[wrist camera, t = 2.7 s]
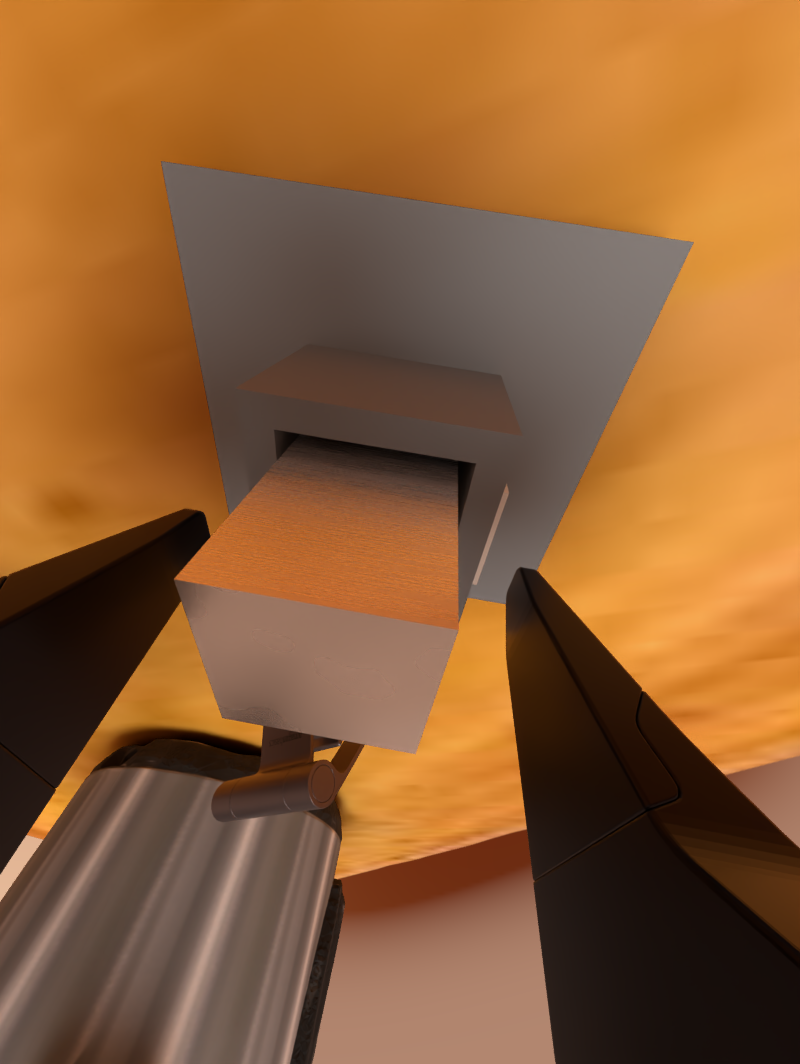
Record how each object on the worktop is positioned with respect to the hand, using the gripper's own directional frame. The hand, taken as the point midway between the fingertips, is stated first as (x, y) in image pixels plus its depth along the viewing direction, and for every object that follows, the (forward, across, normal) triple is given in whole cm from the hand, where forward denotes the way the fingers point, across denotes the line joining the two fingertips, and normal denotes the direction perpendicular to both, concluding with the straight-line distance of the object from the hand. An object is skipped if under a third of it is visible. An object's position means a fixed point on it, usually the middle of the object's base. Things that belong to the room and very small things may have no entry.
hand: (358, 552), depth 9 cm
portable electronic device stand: (+8, +3, +21) cm, 23 cm away
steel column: (+6, 0, 0) cm, 6 cm away
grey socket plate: (+8, 0, 0) cm, 8 cm away
